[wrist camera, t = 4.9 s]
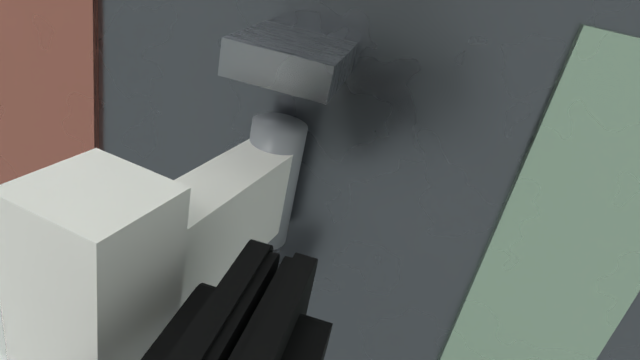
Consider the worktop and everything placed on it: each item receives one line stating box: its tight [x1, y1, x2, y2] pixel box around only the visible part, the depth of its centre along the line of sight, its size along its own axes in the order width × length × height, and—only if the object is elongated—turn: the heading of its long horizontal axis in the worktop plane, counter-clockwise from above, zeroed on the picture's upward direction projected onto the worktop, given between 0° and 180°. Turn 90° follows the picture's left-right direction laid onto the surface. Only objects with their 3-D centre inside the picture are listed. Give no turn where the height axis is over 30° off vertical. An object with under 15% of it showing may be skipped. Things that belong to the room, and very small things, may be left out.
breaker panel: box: [0, 0, 640, 360], centre depth 19 cm, size 30×22×9 cm
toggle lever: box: [0, 112, 308, 360], centre depth 14 cm, size 2×6×10 cm, turn 169°
